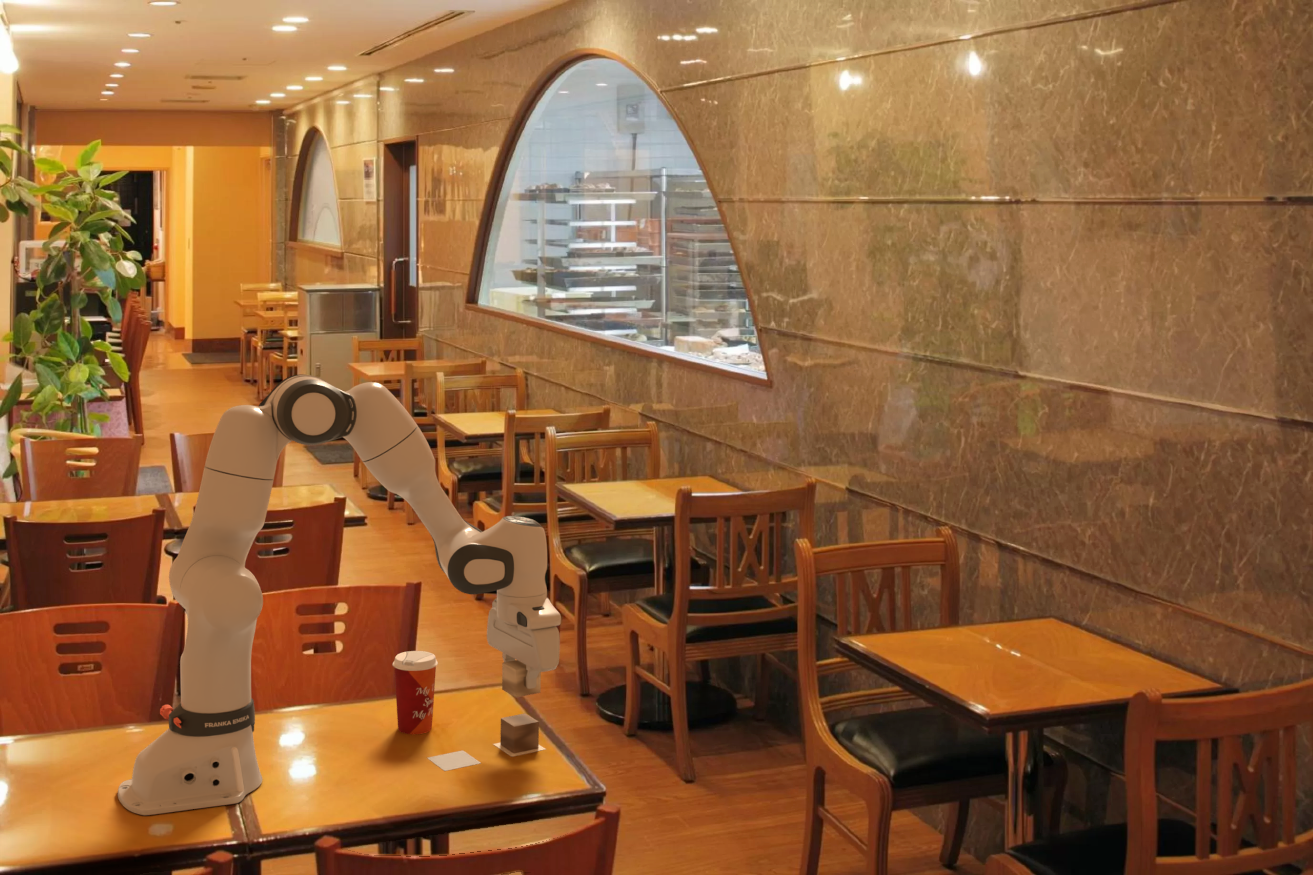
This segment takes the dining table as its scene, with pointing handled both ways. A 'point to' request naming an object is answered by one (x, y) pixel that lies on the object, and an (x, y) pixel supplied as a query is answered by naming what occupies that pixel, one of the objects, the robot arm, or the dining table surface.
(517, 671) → the maple block
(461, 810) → the dining table surface
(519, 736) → the walnut block
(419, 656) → the coffee cup
